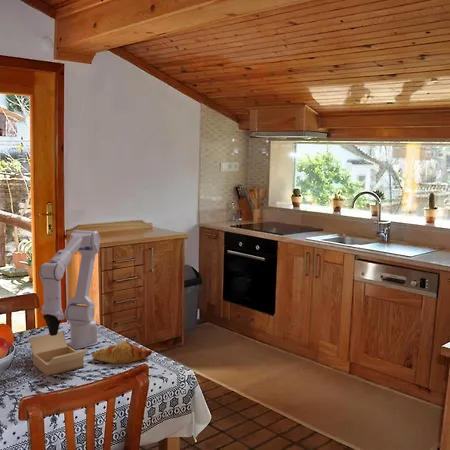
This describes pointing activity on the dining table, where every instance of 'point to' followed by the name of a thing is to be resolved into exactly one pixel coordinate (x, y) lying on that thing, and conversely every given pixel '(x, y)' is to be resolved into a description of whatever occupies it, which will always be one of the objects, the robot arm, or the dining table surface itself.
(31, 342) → the flap
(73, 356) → the flap
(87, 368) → the dining table surface
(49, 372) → the carton
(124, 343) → the croissant
